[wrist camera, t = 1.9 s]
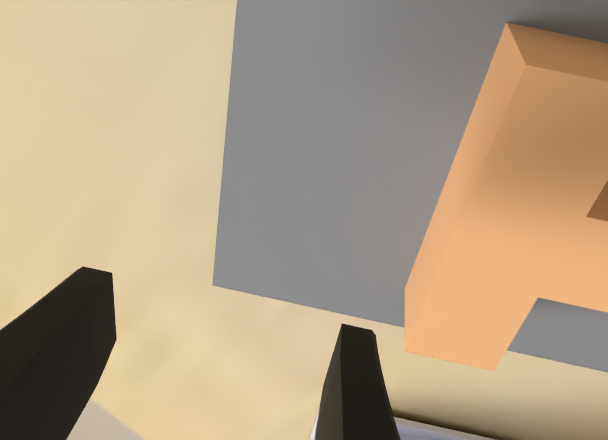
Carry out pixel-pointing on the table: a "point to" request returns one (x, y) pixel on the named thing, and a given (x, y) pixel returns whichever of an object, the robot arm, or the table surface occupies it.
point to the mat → (367, 150)
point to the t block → (518, 202)
